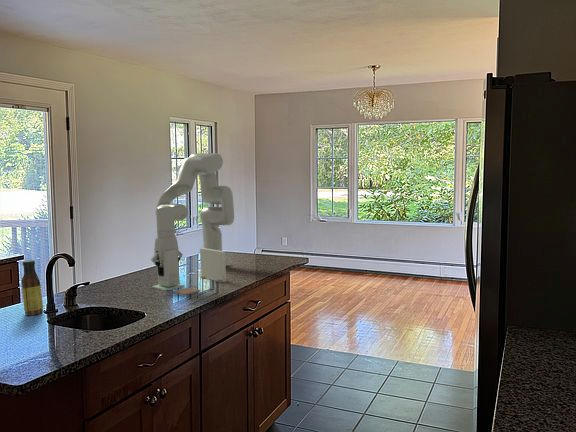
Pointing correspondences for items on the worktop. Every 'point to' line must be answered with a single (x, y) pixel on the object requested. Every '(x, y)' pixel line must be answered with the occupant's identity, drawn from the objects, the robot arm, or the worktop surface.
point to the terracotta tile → (185, 291)
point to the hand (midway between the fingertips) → (167, 274)
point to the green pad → (167, 287)
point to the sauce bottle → (31, 289)
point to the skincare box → (169, 269)
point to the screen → (213, 265)
